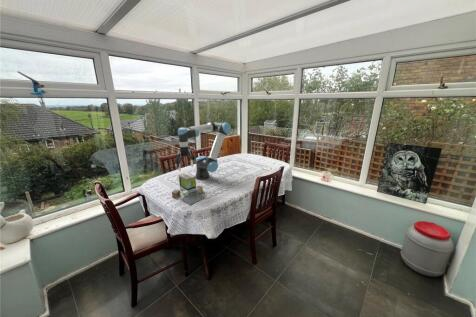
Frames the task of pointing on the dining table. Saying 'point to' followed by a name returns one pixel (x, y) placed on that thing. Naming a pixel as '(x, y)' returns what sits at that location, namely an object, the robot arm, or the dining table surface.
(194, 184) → the tea box
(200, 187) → the beech cylinder
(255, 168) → the dining table surface
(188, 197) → the slate mat
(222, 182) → the dining table surface
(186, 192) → the sage cube
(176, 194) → the walnut block
